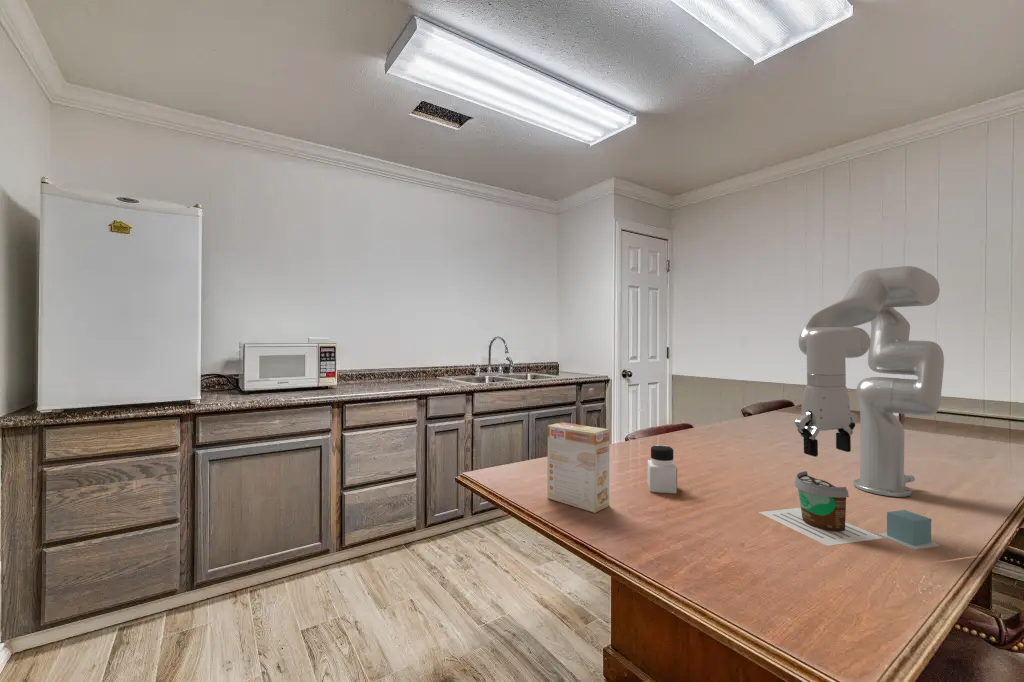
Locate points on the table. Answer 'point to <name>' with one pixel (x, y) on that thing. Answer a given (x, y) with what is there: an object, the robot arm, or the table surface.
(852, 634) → the table surface
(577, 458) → the coffeecake box
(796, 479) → the food container
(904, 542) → the mat
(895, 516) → the teal block
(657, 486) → the medicine bottle
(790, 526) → the letter
